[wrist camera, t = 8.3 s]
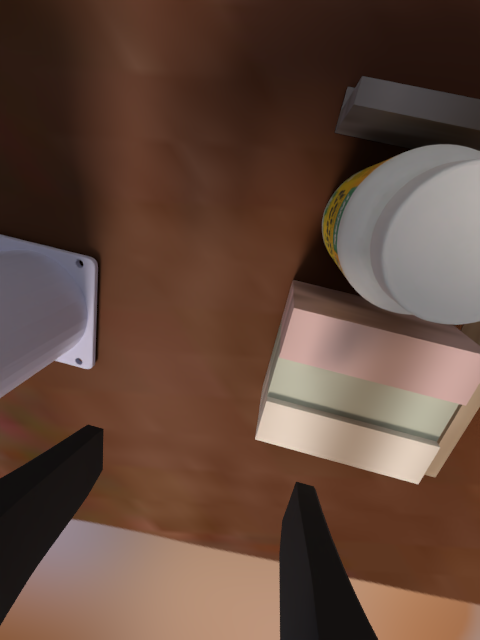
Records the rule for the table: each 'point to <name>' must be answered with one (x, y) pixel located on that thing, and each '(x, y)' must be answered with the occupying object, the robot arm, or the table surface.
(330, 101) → the table surface
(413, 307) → the supplement bottle
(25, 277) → the robot arm
